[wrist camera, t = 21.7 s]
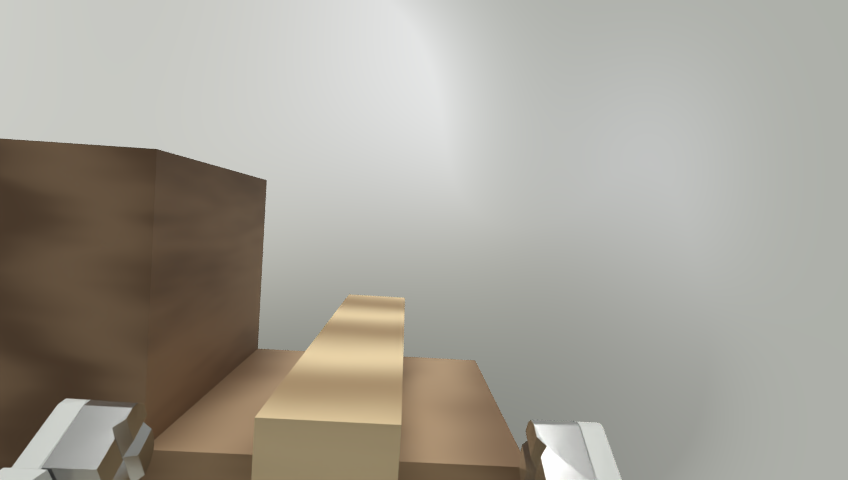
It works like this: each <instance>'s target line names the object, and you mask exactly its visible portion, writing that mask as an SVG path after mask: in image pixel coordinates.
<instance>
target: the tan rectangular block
mask: <svg viewBox="0 0 848 480" xmlns="http://www.w3.org/2000/svg"><path fill="white" fill-rule="evenodd" d="M404 305H405V298H400V297H382V296H366V295H348V297H347V298H346V299H345V301H344V302H343V303H342V304H341V306H340V307H339V308H338V310H337V311H336V312H335V313H334V315H333V316H332V317H331V319H330V320H329V321H328V323H327V324H326V325H325V326H324V328H323V329H322V330H321V332H320V333H319V334H318V336H317V337H316V338H315V340H314V341H313V342H312V344H311V345H310V346H309V347H308V349H307V350H306V351H305V353H304V354H303V355H302V356H301V358H300V359H299V360H298V362H297V363H296V364H295V366H294V367H293V368H292V369H291V371H290V372H289V373H288V375H287V376H286V377H285V379H284V380H283V381H282V382H281V384H280V385H279V386H278V388H277V389H276V390H275V392H274V393H273V394H272V395H271V397H270V398H269V399H268V401H267V402H266V403H265V405H264V406H263V407H262V408H261V410H260V411H259V412H258V414H257V415H256V416H255V419H254V437H253V456H252V475H251V480H398V470H399V454H400V438H401V419H402V381H403V343H404V341H403V340H404V307H405V306H404Z"/></svg>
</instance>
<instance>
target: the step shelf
mask: <svg viewBox="0 0 848 480" xmlns="http://www.w3.org/2000/svg"><path fill="white" fill-rule="evenodd" d="M265 198H266V180H264V179H260V178H256V177H253V176H249V175H246V174H242V173H239V172H236V171H232V170H229V169H225V168H221V167H218V166H214V165H210V164H207V163H204V162H200V161H196V160H193V159H189V158H186V157H183V156H179V155H175V154H171V153H168V152H164V151H161V150H158V149H146V148H131V147H115V146H101V145H85V144H72V143H57V142H42V141H28V140H27V141H26V140H12V139H0V470H1V469H2V468H11V467H12V466H13V465H14V463H15V462H16V461H17V459H18V458H19V456H20V455H21V454H22V452H23V451H24V450H25V448H26V447H27V446H28V444H29V443H30V441H31V440H32V439H33V437H34V436H35V435H36V433H37V432H38V431H39V429H40V428H41V426H42V425H43V424H44V422H45V421H46V420H47V418H48V417H49V416H50V414H51V413H52V411H53V410H54V409H55V407H56V406H57V405H58V404H59V403H60V402H62V401H63V400H65V399H66V398H68V399H86V400H102V401H116V402H130V403H142V404H144V406H145V409H146V411H147V416H146V418H145V420H144V423H145V424H146V425H148V426H149V427H150V428H152V431H153V435H154V450H153V454H152V458H151V462H150V464H149V466H148V469H147V471H146V473H145V475H144V476H142V477H141V478H140V479H138V480H251V475H252V456H253V437H254V419H255V416H256V415H257V414H258V412H259V411H260V410H261V408H262V407H263V406H264V405H265V403H266V402H267V401H268V399H269V398H270V397H271V395H272V394H273V393H274V392H275V390H276V389H277V388H278V386H279V385H280V384H281V382H282V381H283V380H284V379H285V377H286V376H287V375H288V373H289V372H290V371H291V369H292V368H293V367H294V366H295V364H296V363H297V362H298V360H299V359H300V358H301V356H302V355H303V354H304V353H305V351H289V350H269V349H258V331H259V313H260V294H261V276H262V257H263V237H264V219H265V200H266V199H265ZM519 463H520V450H519V448H518V446H517V444H516V442H515V440H514V438H513V436H512V434H511V432H510V430H509V428H508V426H507V424H506V422H505V420H504V418H503V416H502V414H501V412H500V410H499V408H498V406H497V404H496V402H495V400H494V398H493V396H492V394H491V392H490V390H489V388H488V386H487V384H486V382H485V380H484V378H483V375H482V373H481V371H480V370H479V368H478V365H477V363H476V362H475V361H474V360H455V359H436V358H418V357H403V381H402V419H401V438H400V454H399V470H398V480H520V471H519Z"/></svg>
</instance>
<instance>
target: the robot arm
mask: <svg viewBox="0 0 848 480" xmlns="http://www.w3.org/2000/svg"><path fill="white" fill-rule="evenodd" d="M146 416H147V411H146V409H145V406H144V404H142V403H130V402H116V401H102V400H86V399H68V398H66V399H65V400H63V401H62V402H60V403H59V404H58V405H57V406H56V407H55V409H54V410H53V411H52V413H51V414H50V416H49V417H48V418H47V420H46V421H45V422H44V424H43V425H42V426H41V428H40V429H39V431H38V432H37V433H36V435H35V436H34V437H33V439H32V440H31V441H30V443H29V444H28V446H27V447H26V448H25V450H24V451H23V452H22V454H21V455H20V456H19V458H18V459H17V461H16V462H15V463H14V465H13V466H12V467H11V468H2V469H1V470H0V480H138V479H140V478H141V477H142V476H144V475H145V473H146V471H147V469H148V466H149V464H150V462H151V458H152V454H153V450H154V435H153V431H152V428H150V427H149V426H148V425H146V424H145V423H144V420H145V418H146ZM526 435H527V440H528V441H526V442H525V443H524V444H522V448H521V452H520V463H519V471H520V480H622V479H621V476H620V473H619V470H618V467H617V464H616V462H615V459H614V456H613V453H612V451H611V448H610V445H609V442H608V439H607V437H606V433H605V431H604V428H603V426H602V425H601V424H600V423H592V422H591V423H590V422H574V421H551V420H530V421H529V423H528V425H527V428H526Z"/></svg>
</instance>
